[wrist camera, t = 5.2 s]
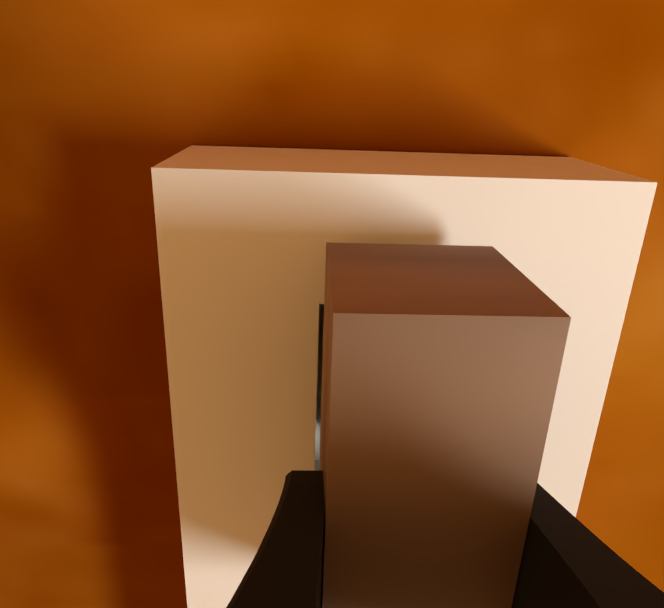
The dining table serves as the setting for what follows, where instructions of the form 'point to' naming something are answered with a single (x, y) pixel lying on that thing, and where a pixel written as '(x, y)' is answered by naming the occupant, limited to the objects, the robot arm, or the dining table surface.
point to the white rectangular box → (308, 306)
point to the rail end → (431, 422)
